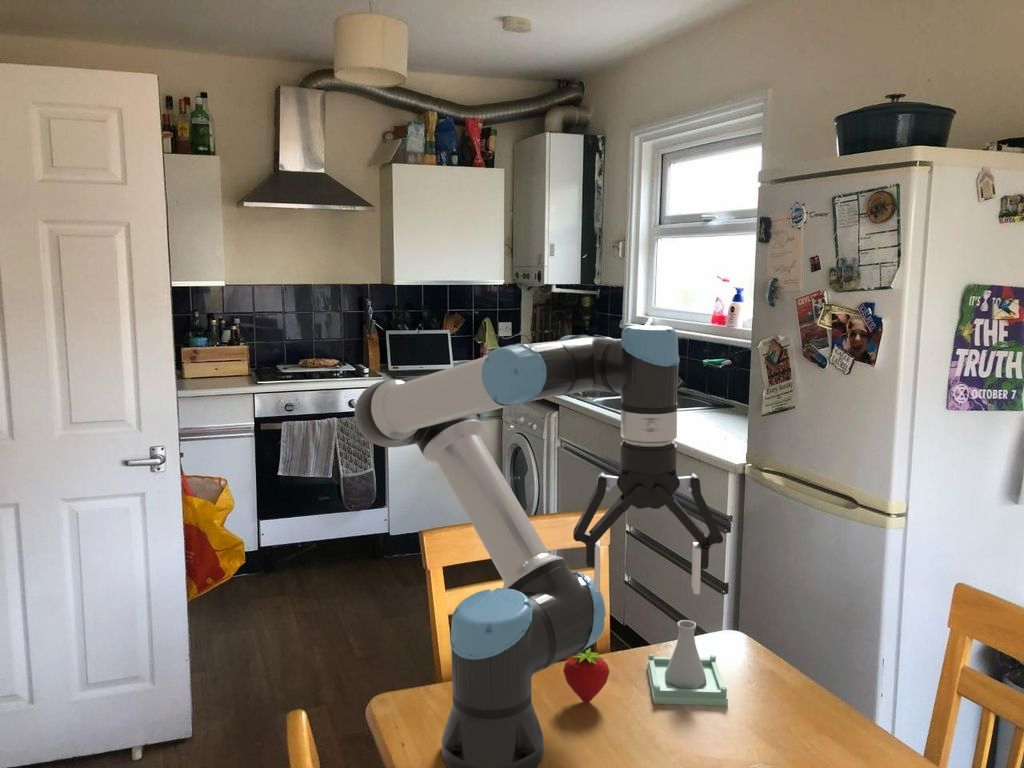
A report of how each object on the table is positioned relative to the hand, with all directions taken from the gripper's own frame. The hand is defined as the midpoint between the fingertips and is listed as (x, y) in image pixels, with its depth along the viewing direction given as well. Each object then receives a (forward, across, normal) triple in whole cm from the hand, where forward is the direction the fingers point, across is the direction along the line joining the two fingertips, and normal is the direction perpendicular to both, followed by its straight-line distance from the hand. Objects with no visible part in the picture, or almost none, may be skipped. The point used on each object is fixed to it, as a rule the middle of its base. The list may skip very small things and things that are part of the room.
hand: (646, 589), depth 115 cm
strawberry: (+27, -8, +17) cm, 33 cm away
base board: (+27, +9, +23) cm, 36 cm away
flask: (+26, +9, +23) cm, 36 cm away
